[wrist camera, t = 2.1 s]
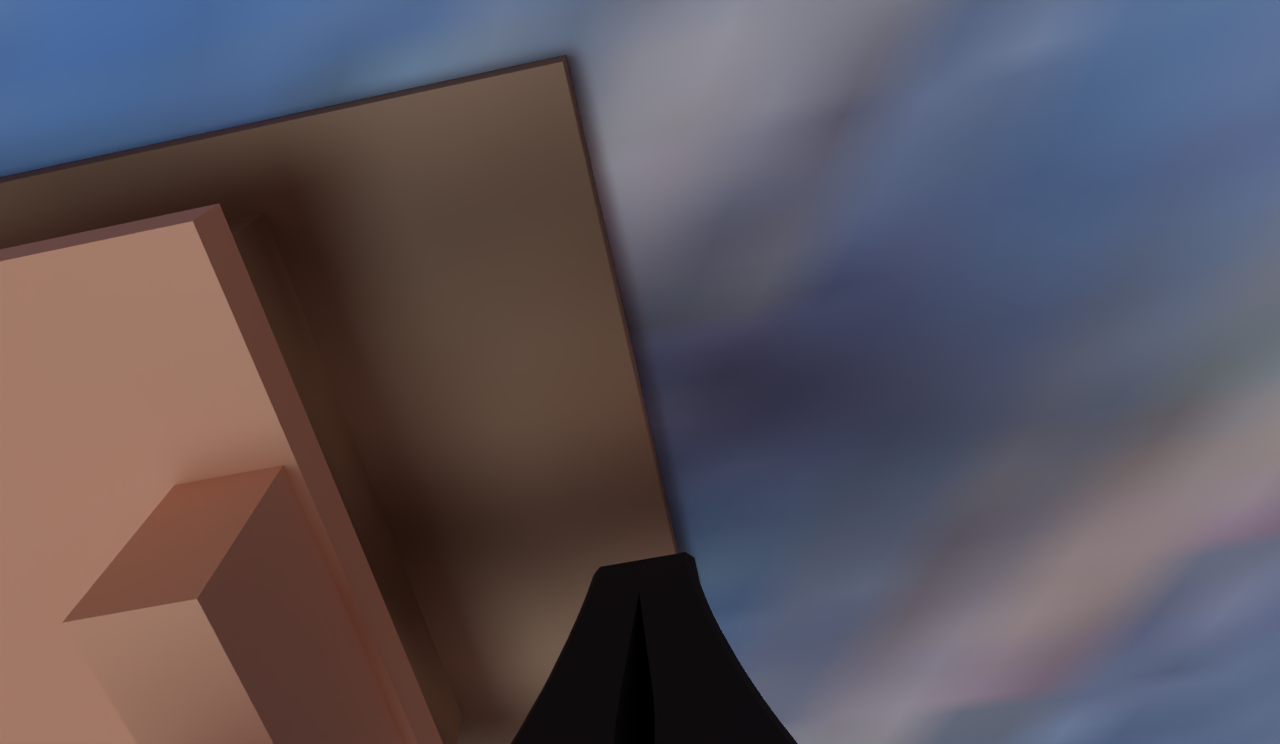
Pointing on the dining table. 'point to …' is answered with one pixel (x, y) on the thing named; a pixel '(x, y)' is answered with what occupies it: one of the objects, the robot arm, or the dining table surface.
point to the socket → (431, 352)
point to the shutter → (174, 512)
